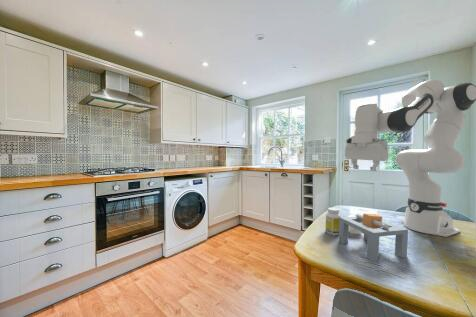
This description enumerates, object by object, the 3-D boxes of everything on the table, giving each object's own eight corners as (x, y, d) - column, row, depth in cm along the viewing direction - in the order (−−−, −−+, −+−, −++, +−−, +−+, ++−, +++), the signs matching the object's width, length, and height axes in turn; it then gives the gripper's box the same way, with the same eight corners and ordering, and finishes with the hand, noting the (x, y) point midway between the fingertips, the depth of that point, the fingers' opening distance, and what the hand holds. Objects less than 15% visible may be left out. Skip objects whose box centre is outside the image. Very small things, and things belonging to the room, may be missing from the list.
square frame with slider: (368, 237, 87) (369, 211, 87) (406, 257, 72) (408, 225, 71) (338, 240, 84) (339, 213, 83) (372, 261, 68) (373, 228, 68)
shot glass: (365, 235, 90) (366, 219, 89) (348, 233, 91) (349, 218, 91) (359, 229, 96) (360, 215, 96) (344, 228, 98) (344, 213, 98)
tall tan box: (372, 232, 79) (375, 214, 79) (379, 236, 76) (382, 216, 76) (361, 232, 78) (363, 213, 78) (367, 235, 75) (370, 215, 75)
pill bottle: (340, 231, 93) (341, 208, 93) (339, 236, 88) (340, 211, 88) (326, 228, 96) (327, 206, 96) (324, 233, 91) (325, 209, 91)
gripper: (393, 138, 81) (391, 172, 82) (353, 140, 101) (352, 167, 102) (380, 138, 80) (379, 172, 80) (343, 140, 100) (341, 168, 100)
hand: (364, 170), depth 91 cm, fingers open, 8 cm apart
